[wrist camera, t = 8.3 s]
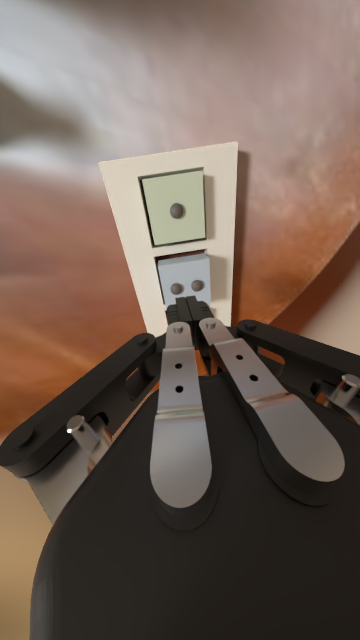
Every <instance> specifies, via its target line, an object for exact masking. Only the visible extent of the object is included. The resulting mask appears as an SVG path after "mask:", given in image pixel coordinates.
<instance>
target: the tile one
mask: <svg viewBox="0 0 360 640" xmlns="http://www.w3.org/2000/svg"><path fill="white" fill-rule="evenodd" d="M142 182H143V187H144V193H145V198H146V203H147V208H148V213H149V218H150V224H151V229H152V234H153V239H154V244H155V245H160V244H167V243H173V242H180V241H186V240H193V239H199V238H205V218H204V195H203V172H202V170H201V171H194V172H188V173H181V174H175V175H168V176H161V177H155V178H148V179H142Z"/></svg>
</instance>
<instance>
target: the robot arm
mask: <svg viewBox="0 0 360 640" xmlns="http://www.w3.org/2000/svg"><path fill="white" fill-rule="evenodd" d="M175 301H176V304H173V305H169V306H168V307H167V318H168V327H167V331H166V332H165V333H164V334H163V335H161V336H158V337H155V336H154V335H153V334H150V333H142V334H138V335H136V336H135V337H133V338H132V339H131V340H129V341H128V342H127V343H125V344H124V345H123V346H122V347H120V348H119V349H118V350H116V351H115V352H114V353H113V354H111V355H110V356H109V357H107V358H106V359H105V360H103V361H102V362H101V363H100V364H98V365H97V366H96V367H94V368H93V369H92V370H91V371H89V372H88V373H87V374H85V375H84V376H83V377H82V378H80V379H79V380H78V381H76V382H75V383H74V384H73V385H71V386H70V387H69V388H67V389H66V390H65V391H64V392H62V393H61V394H60V395H58V396H57V397H56V398H54V399H53V400H52V401H51V402H49V403H48V404H47V405H45V406H44V407H43V408H42V409H40V410H39V411H38V412H36V413H35V414H34V415H33V416H31V417H30V418H29V419H27V420H26V421H25V422H24V423H22V424H21V425H20V426H18V427H17V428H16V429H15V430H13V431H12V432H11V433H10V434H9V435H8V436H7V438H6V439H5V440H4V441H3V443H2V444H1V446H0V466H2V467H4V468H5V469H7V470H9V471H10V472H12V473H13V474H14V476H16V477H17V478H18V479H20V480H22V481H24V482H25V483H27V484H29V485H30V486H31V488H32V490H33V492H34V493H35V495H36V497H37V499H38V500H39V502H40V504H41V506H42V507H43V509H44V511H45V512H46V514H47V516H48V518H49V520H50V521H51V523H52V525H53V527H52V529H51V531H50V533H49V535H48V537H47V539H46V542H45V544H44V546H43V549H42V552H41V555H40V558H39V561H38V564H37V568H36V573H35V577H34V581H33V588H32V595H31V610H30V639H29V640H360V356H359V355H356V354H353V353H350V352H347V351H344V350H341V349H338V348H335V347H332V346H329V345H326V344H323V343H320V342H317V341H314V340H311V339H308V338H305V337H302V336H300V335H297V334H293V333H291V332H288V331H284V330H282V329H278V328H276V327H273V326H270V325H267V324H264V323H261V322H258V321H255V320H242V321H240V322H239V323H238V324H237V327H230V326H225V325H224V324H223V323H222V322H221V321H220V320H219V319H216V318H215V317H214V315H213V314H212V312H211V310H210V308H209V306H208V305H207V303H205V302H204V301H197V299H196V297H195V295H194V296H186V297H178V298H175ZM260 347H262V348H264V349H267V350H269V351H271V352H273V353H276V354H278V355H280V356H282V357H283V358H284V360H285V365H283V364H281V363H278V362H276V361H274V360H272V359H269V358H267V357H265V356H263V355H261V354H259V349H260ZM194 348H195V350H199V351H200V359H201V362H202V364H203V367H204V370H205V372H206V375H207V376H198V373H197V367H196V360H195V353H194ZM137 367H138V369H137V370H136V371H135V372H134V373H133V374H132V375H131V376H130V377H129V378H128V379H127V377H128V376H129V375H130V374H131V373H132V372H133V371H134V370H135V369H136V368H137ZM126 379H127V380H126ZM159 380H160V388H159V389H158V390H156V391H155V392H154V393H152V394H151V395H150V396H149V397H148V398H147V399H146V401H145V402H144V403H143V404H142V406H141V407H140V408H139V410H138V411H137V412H136V414H135V415H134V416H133V417H132V419H131V420H130V421H129V423H128V424H127V425H126V427H125V428H124V429H123V430H122V432H121V433H120V434H119V436H118V437H117V438H116V440H115V441H114V442H113V444H112V436H113V435H114V434H115V432H116V431H117V430H118V429H119V428H120V426H121V425H122V424H123V423H124V422H125V420H126V419H127V418H128V417H129V415H130V414H131V413H132V412H133V411H134V410H135V408H136V407H137V406H138V405H139V403H140V402H141V401H142V400H143V399H144V398H145V396H146V395H147V394H148V393H149V392H150V390H151V389H152V388H153V387H154V386H155V384H156V383H157V382H158V381H159Z"/></svg>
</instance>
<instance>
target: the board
mask: <svg viewBox="0 0 360 640" xmlns="http://www.w3.org/2000/svg"><path fill="white" fill-rule="evenodd" d="M237 156H238V141H236V142H229V143H223V144H216V145H209V146H203V147H196V148H189V149H183V150H176V151H170V152H163V153H156V154H150V155H143V156H136V157H130V158H123V159H116V160H110V161H103V162H98V163H99V166H100V170H101V173H102V177H103V180H104V184H105V187H106V190H107V194H108V197H109V201H110V204H111V208H112V211H113V215H114V218H115V222H116V225H117V228H118V232H119V235H120V239H121V242H122V246H123V249H124V253H125V256H126V259H127V263H128V266H129V270H130V273H131V277H132V280H133V284H134V287H135V290H136V294H137V297H138V301H139V304H140V308H141V311H142V315H143V318H144V322H145V325H146V328H147V332H148V333H150V334H153V335H154V336H155V337H158V336H161V335H163V334H164V333H165V332H166V331H167V327H168V319H167V314H166V305H165V300H164V299H163V294H162V289H161V284H160V279H159V274H158V269H157V264H156V259H155V257H156V256H162V255H168V254H175V253H181V252H188V251H194V250H201V249H204V254H205V255H206V256H207V257H209V259H210V289H211V305H208V306H209V308H210V310H211V312H212V314H213V315H214V317H215V318H216V319H219V320H220V321H221V322H222V323H223V324H224V325H225V326H230V327H231V304H232V280H233V255H234V230H235V206H236V181H237ZM201 170H202V172H203V195H204V218H205V238H202V239H196V240H189V241H183V242H177V243H170V244H164V245H157V246H153V244H152V239H151V234H150V229H149V224H148V219H147V214H146V209H145V204H144V199H143V194H142V189H141V184H140V180H142V179H148V178H155V177H161V176H168V175H175V174H181V173H188V172H194V171H201Z"/></svg>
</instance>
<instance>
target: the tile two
mask: <svg viewBox="0 0 360 640" xmlns="http://www.w3.org/2000/svg"><path fill="white" fill-rule="evenodd" d="M158 270H159V275H160V280H161V285H162V290H163V295H164V300H165V305H166V311H167V307H168V306H169V305H173V304H176V301H175V298H178V297H186V296H194V295H195V297H196V299H197V301H204V302H205V303H207V305H211V289H210V259H209V257H207V256H206V255H205V254H197V255H191V256H184V257H178V258H171V259H165V260H158Z"/></svg>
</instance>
